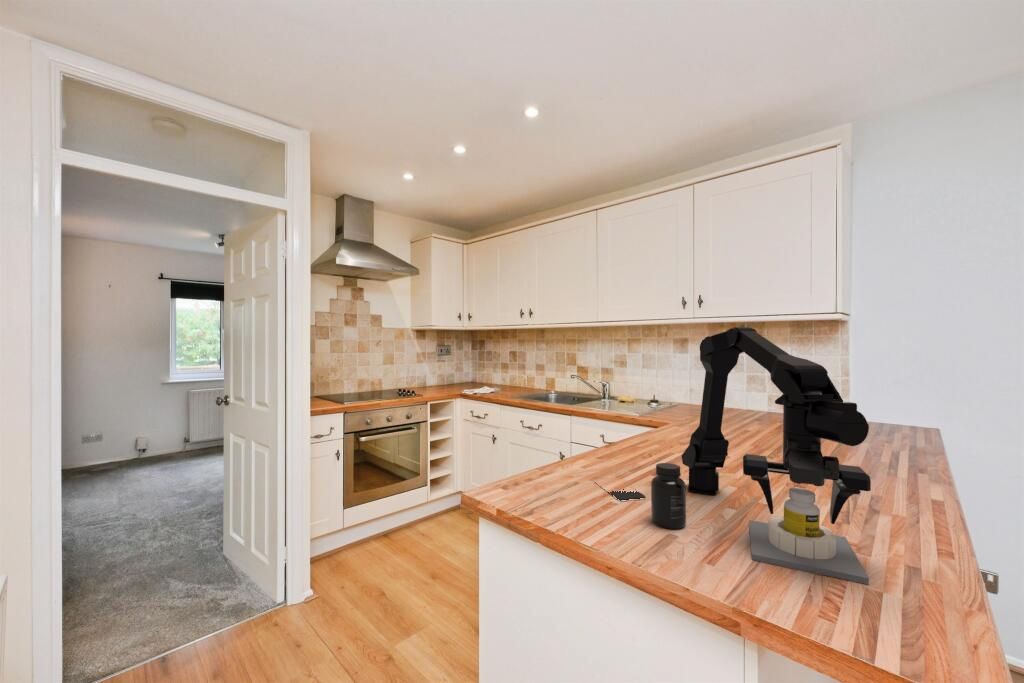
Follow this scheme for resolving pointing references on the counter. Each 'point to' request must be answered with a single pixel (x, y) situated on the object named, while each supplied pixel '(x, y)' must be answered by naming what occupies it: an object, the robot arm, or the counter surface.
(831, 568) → the bottle holder
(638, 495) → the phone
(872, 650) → the counter surface
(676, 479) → the supplement bottle
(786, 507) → the supplement bottle
